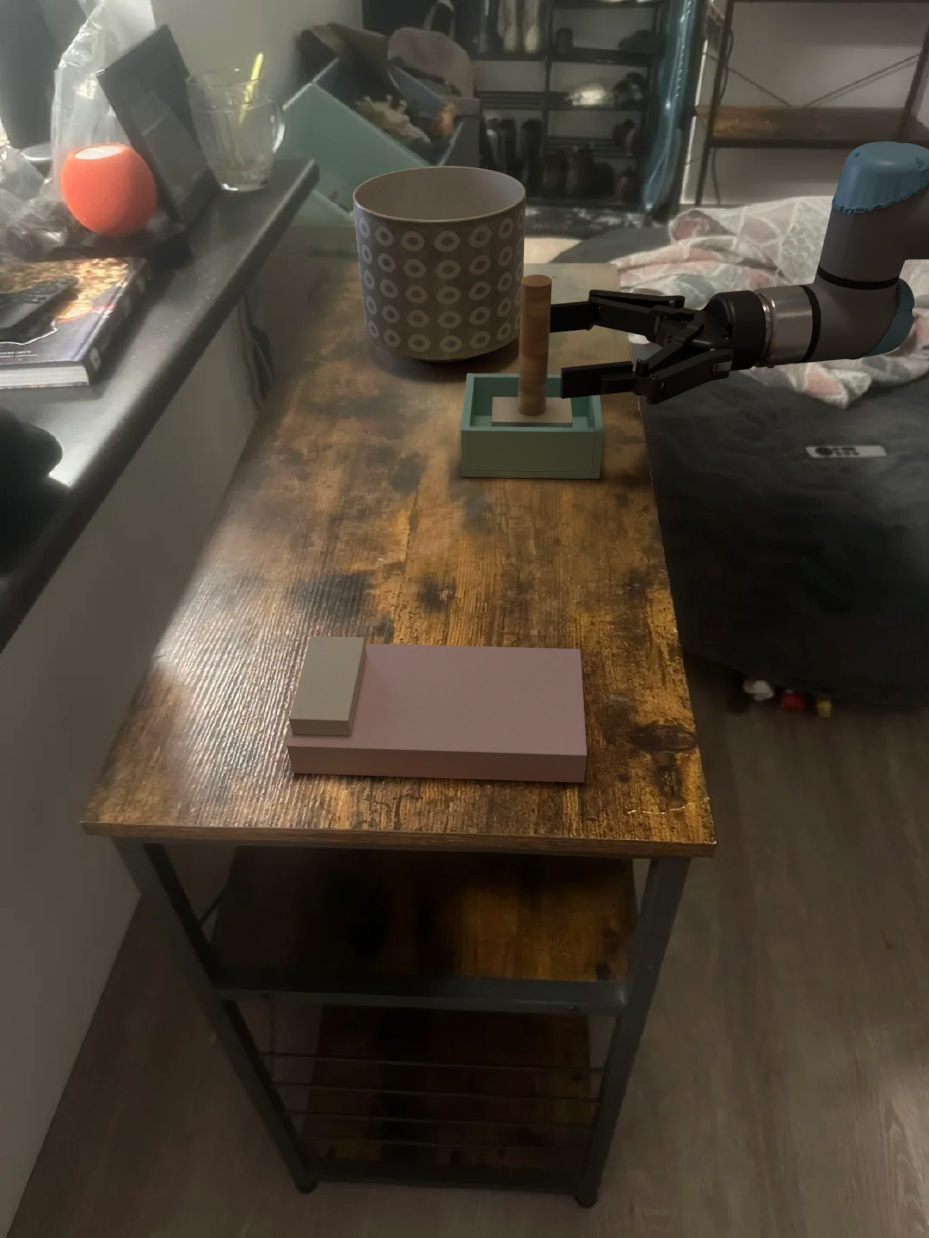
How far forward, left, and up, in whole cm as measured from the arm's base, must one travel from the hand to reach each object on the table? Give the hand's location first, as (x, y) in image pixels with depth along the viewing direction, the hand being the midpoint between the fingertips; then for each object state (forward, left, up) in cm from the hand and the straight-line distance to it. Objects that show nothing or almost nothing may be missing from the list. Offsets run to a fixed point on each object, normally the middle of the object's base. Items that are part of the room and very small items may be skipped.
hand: (542, 350), depth 84 cm
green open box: (+1, +1, -10) cm, 11 cm away
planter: (+22, -13, -11) cm, 27 cm away
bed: (-14, +36, -10) cm, 40 cm away
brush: (+1, +1, -10) cm, 10 cm away
